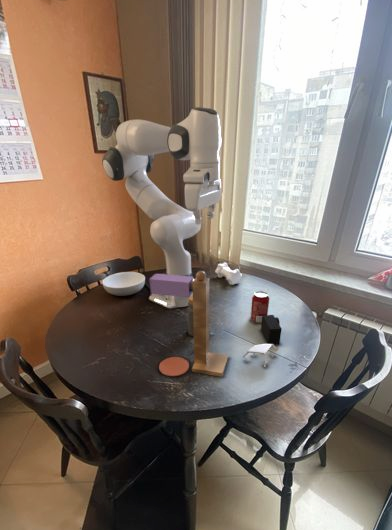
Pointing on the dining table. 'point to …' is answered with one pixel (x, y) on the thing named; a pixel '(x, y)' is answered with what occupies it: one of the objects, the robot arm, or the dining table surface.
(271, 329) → the digital camera
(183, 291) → the purple block
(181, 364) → the coaster
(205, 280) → the cup stand
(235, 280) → the bone shaped toy
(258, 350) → the white small piece
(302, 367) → the dining table surface
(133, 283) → the serving bowl
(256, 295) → the soda can
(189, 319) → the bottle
